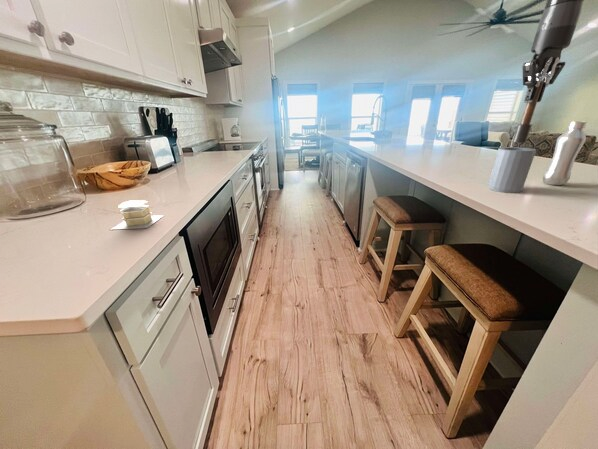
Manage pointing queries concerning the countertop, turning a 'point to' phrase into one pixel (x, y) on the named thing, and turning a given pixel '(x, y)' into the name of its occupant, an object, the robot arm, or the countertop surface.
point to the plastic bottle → (565, 154)
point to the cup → (511, 169)
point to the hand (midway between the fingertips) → (532, 102)
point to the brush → (526, 119)
